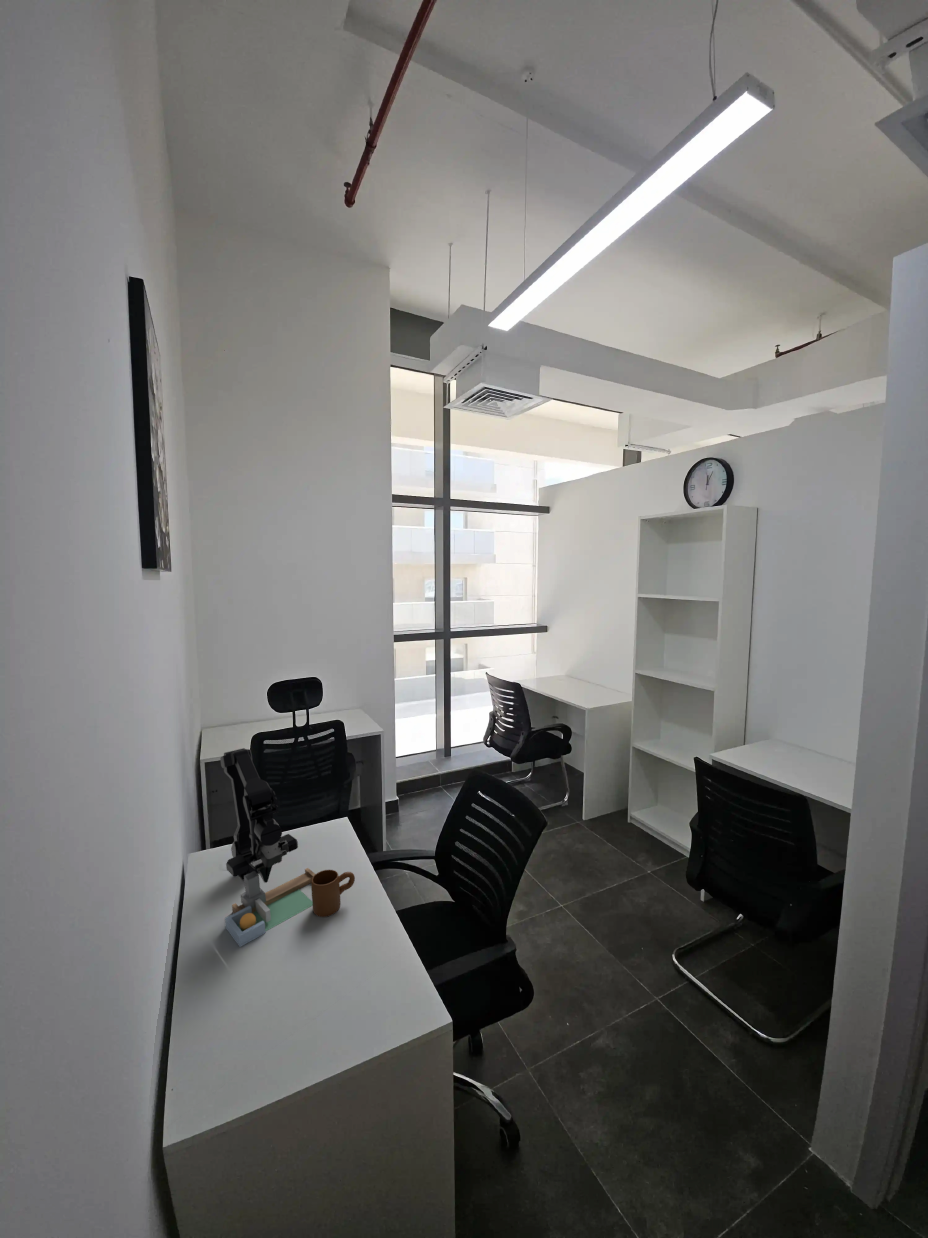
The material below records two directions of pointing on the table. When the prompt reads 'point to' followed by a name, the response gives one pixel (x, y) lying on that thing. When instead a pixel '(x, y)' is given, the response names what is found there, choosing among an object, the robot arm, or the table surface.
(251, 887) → the kicker
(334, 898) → the mug
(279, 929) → the table surface
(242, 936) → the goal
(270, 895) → the rail
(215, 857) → the table surface
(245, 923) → the ball
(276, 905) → the pitch mat
